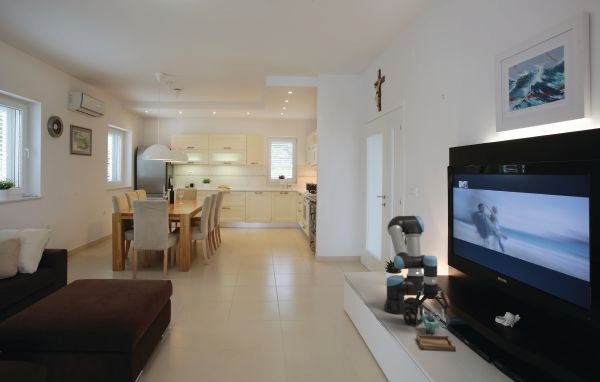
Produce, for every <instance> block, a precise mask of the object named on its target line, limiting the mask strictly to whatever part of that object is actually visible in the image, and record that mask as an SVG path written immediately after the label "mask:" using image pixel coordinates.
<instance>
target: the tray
mask: <svg viewBox="0 0 600 382" xmlns="http://www.w3.org/2000/svg"><path fill="white" fill-rule="evenodd" d="M416 340H417V343H418V345H419V347H420V350H421V351H435V352H436V351H439V352H456V346H455V344H454V342H453V341H452V340H451V338H450V337H449V335H429V334H427V335H426V334H416Z"/></svg>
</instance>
